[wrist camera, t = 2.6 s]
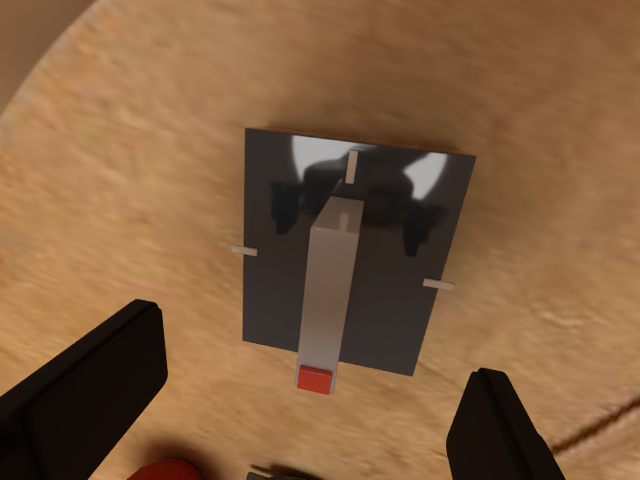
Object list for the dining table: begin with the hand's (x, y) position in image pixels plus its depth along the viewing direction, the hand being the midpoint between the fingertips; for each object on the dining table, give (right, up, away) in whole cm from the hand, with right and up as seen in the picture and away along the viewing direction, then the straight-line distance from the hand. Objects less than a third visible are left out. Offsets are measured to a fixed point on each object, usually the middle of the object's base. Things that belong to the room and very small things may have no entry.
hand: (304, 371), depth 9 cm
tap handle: (+1, +3, +6) cm, 7 cm away
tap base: (+2, +4, +9) cm, 10 cm away
